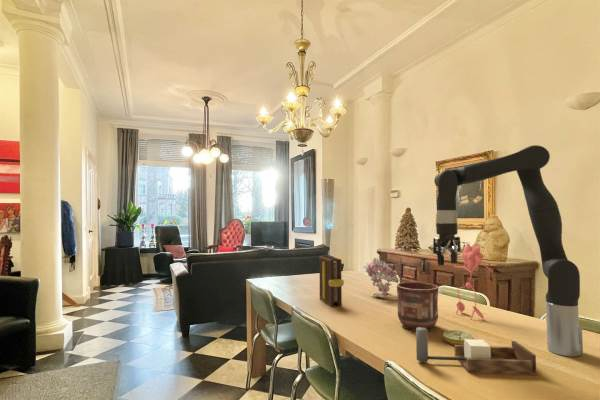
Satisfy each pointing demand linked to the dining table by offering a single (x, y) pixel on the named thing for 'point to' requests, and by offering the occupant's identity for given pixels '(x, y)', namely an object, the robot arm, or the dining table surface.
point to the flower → (385, 270)
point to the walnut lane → (501, 360)
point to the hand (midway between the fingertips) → (447, 264)
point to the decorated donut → (456, 337)
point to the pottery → (417, 304)
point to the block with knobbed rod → (470, 351)
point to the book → (330, 280)
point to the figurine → (471, 259)
